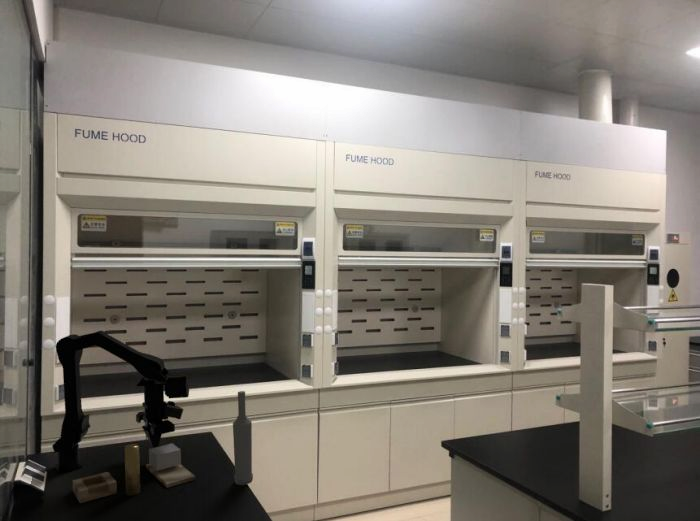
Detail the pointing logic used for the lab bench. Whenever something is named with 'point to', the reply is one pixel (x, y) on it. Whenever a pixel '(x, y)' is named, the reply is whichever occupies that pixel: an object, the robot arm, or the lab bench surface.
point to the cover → (164, 456)
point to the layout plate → (172, 475)
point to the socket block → (94, 487)
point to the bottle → (242, 444)
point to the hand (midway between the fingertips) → (155, 449)
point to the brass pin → (132, 469)
